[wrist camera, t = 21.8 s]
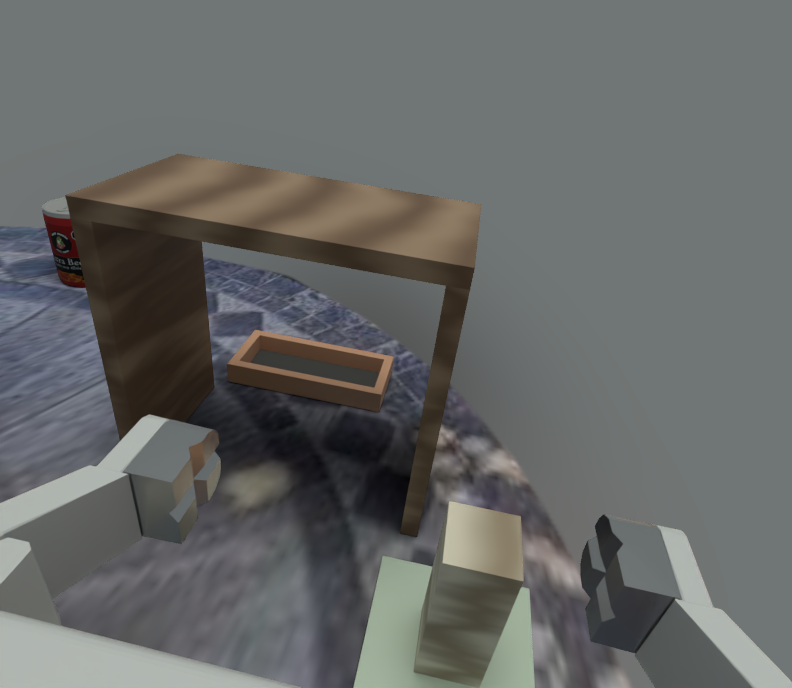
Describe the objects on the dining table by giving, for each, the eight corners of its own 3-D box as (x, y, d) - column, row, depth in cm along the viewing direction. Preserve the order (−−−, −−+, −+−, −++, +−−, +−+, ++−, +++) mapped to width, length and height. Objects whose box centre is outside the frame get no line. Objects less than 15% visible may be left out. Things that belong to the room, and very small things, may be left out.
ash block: (413, 672, 35) (442, 562, 29) (421, 609, 39) (449, 501, 32) (479, 688, 34) (523, 581, 28) (481, 623, 38) (520, 516, 32)
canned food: (46, 281, 74) (27, 207, 69) (87, 262, 81) (72, 192, 75) (93, 292, 73) (77, 218, 68) (130, 271, 80) (119, 202, 74)
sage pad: (345, 724, 32) (346, 720, 32) (382, 560, 42) (382, 555, 42) (536, 773, 31) (539, 769, 31) (527, 593, 41) (529, 588, 41)
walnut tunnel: (127, 472, 47) (65, 195, 34) (201, 384, 59) (178, 153, 45) (416, 536, 45) (474, 267, 31) (434, 432, 57) (481, 204, 43)
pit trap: (228, 381, 60) (227, 363, 59) (255, 346, 67) (255, 329, 65) (379, 412, 58) (381, 394, 57) (391, 373, 65) (393, 356, 64)
